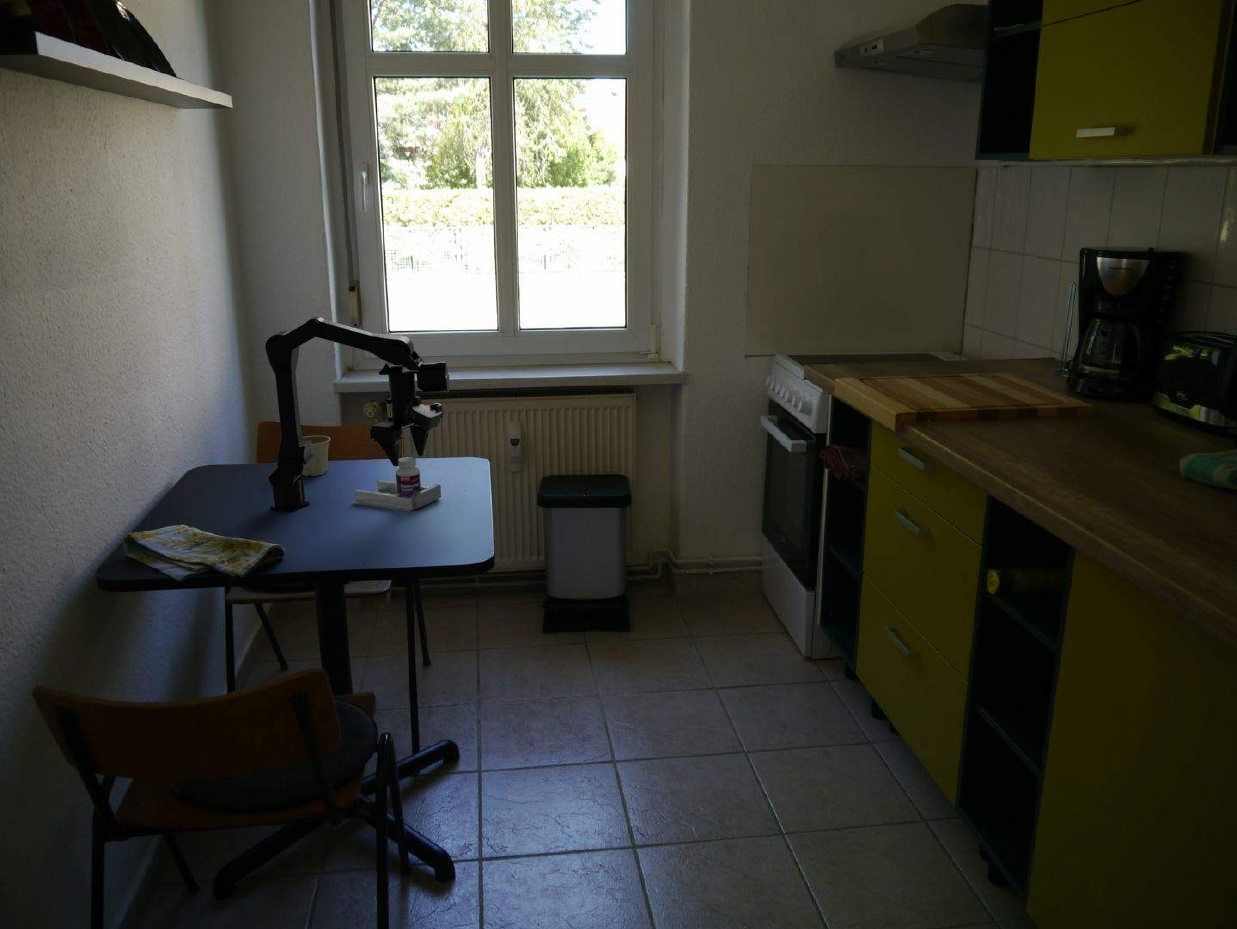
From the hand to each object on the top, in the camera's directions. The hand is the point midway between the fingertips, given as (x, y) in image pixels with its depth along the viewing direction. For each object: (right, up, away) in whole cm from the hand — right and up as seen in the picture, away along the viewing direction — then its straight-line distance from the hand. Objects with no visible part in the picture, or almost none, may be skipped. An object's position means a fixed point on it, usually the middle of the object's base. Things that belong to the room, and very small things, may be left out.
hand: (408, 461), depth 234 cm
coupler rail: (-4, -9, +4) cm, 11 cm away
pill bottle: (0, -9, +3) cm, 10 cm away
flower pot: (-30, -3, +28) cm, 41 cm away
